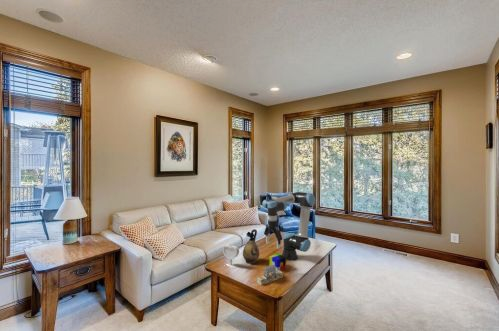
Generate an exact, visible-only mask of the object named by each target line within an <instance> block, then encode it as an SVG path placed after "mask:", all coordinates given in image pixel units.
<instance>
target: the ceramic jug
mask: <svg viewBox="0 0 499 331" xmlns="http://www.w3.org/2000/svg"><path fill="white" fill-rule="evenodd" d="M257 234H258V231H257V229H254V228H253V229H252V230H251V232H250V231H248V232H247V233H246V237H247V238H248V237H249V240H248V241H247V242H246V243H245V245H244V247H243V249H242V256H243V259H244V261H245V263H247V264H255V263H256V261H257V260H258V258H259V257H260V248H259V246H258V244H257V242H256V238H257Z"/></svg>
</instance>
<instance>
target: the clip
mask: <svg viewBox="0 0 499 331" xmlns="http://www.w3.org/2000/svg"><path fill="white" fill-rule="evenodd" d="M263 270H264V271H263V272H264V274H263V276H264V277H266V278H267V281H269V273H270V274H272V275H273V276H274V278H276V266H275V265H271V266H270V265H268V266H265V267H264V269H263Z"/></svg>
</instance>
